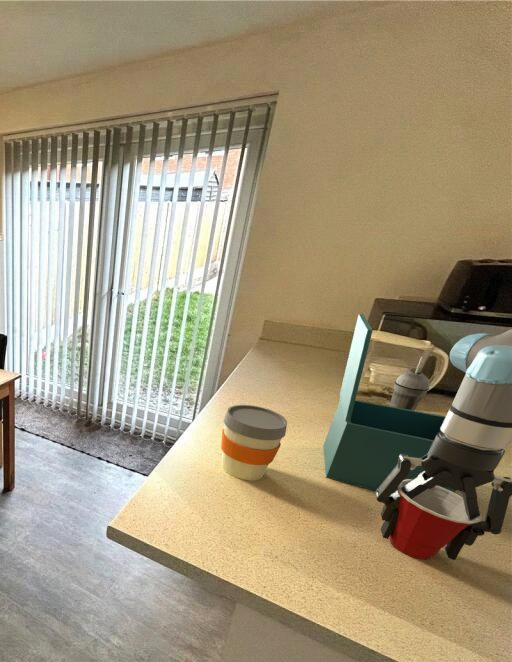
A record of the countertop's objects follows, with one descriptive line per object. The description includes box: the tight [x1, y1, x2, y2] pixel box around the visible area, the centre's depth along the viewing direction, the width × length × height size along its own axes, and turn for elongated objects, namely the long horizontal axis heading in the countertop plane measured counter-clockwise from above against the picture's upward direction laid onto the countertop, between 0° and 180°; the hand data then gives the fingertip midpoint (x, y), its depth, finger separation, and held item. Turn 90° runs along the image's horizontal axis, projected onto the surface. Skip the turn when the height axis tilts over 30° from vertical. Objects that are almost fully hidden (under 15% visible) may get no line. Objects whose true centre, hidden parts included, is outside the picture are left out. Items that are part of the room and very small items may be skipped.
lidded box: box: [322, 398, 457, 494], centre depth 92 cm, size 20×17×15 cm
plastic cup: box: [389, 479, 483, 560], centre depth 71 cm, size 11×11×12 cm
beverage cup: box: [389, 356, 431, 411], centre depth 115 cm, size 7×7×20 cm
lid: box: [339, 313, 373, 422], centre depth 90 cm, size 21×17×1 cm
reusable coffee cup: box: [220, 404, 288, 481], centre depth 94 cm, size 13×13×15 cm
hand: (415, 543), depth 73 cm, fingers closed on plastic cup, 8 cm apart
